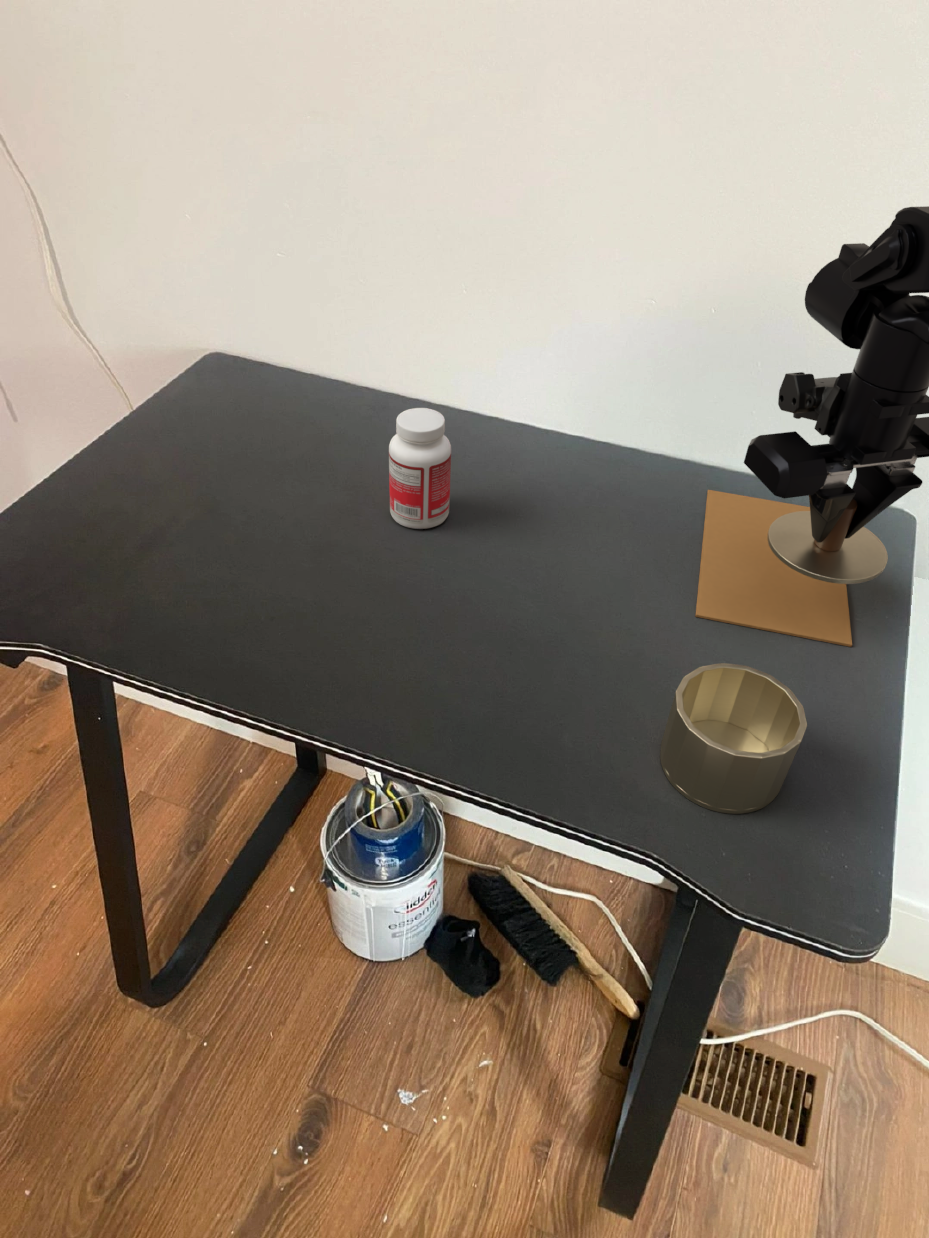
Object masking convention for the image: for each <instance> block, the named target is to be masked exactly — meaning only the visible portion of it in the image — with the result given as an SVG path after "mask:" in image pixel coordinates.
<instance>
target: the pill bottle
mask: <svg viewBox="0 0 929 1238" xmlns="http://www.w3.org/2000/svg"><path fill="white" fill-rule="evenodd" d="M395 421H396V422H395V423H396V425H395V426H396V427H395V431H396V433H395V434H394V435H393V436H392V438H391V439H390V441H389V444H388V472H389V473H388V475H389V476H388V477H389V478H388V479H389V481H388V482H389V512H390V515H391V517H392V519H393V520H394V521H395V522H396V523H397V524H399V525H401V526H403V527H405V528H408V529H415V530H423V529H425V530H426V529H431V528H434V527H437V526H440V525H441V524H443V523H444V522H445V521H446V519H447V518H448V516H449V514H450V506H451V505H450V502H451V501H450V500H451V472H452V471H451V468H452V467H451V466H452V445H451V442H450V440H449V438H448V437H447V436H446V434H445V431H446V420H445V416H444V415H443V414H442V413H441V412H440V411H438V410H435V409H433V408H432V409H431V408H427V407H414V408H409V409H405V410H404V411H402V412H400V413H399V414H398V415H397V417H396V419H395Z"/></svg>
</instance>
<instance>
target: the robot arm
mask: <svg viewBox="0 0 929 1238" xmlns="http://www.w3.org/2000/svg"><path fill="white" fill-rule="evenodd" d="M912 294H914V295H912ZM923 294H929V206H927V205H926V206H906V207H904V208H903V207H902V209H900V210H898V211H897V213H896V214H895V216H894V219H893V220H892V222H890V225H889V226H888V227H887V228H885V230H884V231H883V232H882V233H881V234H880V235H879V236H878V237H877V238H876V239H875V240H874V241H873V242H872V243H871V244H870V245H868V244H866V243H863V242H861V243H860V242H859V243H858V242H857V243H843V244H842V245H841V247H840V251H839V254H838V257H836V258H835V259H833V260H831V261H829V262H828V263H826V265H824V266H823V267H821V268H820V269H819V270H818V272H817V273H816V274H815V275H814V277H813V278H812V280H811V281H810V282H809V283H808V284H807V286H806V290H805V294H804V306H805V309H806V312H807V314H808V315H809V316H810V317H811V318H812V319H813V320H814V321H815V322H817V323H818V324H819V325H820V326H821V327H823V328H824V329H825V330H826V331H827V332H828V333H830V334H831V335H832V336H833V337H834V338H836V339H837V340H838V341H839V342H841V344H843V345H844V346H846V347H847V348H850V349H853V350H859V352H858V355H857V358H856V361H855V362H854V363H855V364H854V366H853V369H852V371H851V372H844V373H840V374H839V375H838V376H830V377H820V378H819V377H818V378H815V376H814V374H813V373H805V372H803V371H800V372H799V371H798V372H790V373H785V374H784V377H783V380H782V382H781V385H780V386H779V387H780V388H779V389H778V401H777V402H778V403H777V405H778V407H779V409H780V410H781V411H783V412H786V413H791V414H792V417H793V418H794V419H797V420H800V419H801V418H802V419H806V420H811V421H814V422H816V423H815V425H814V430H815V431H816V432H818V434H819V435H820V436H827V437H828V438H829V439H828V443H821V444H813V445H811V444H810V442H808V441H807V440H806V439H805V438H804V437H803V436H802V435H801V434H799V433H798V432H797V431H796V430H795V431H786V432H778V433H777V432H776V433H770V434H769V433H767V434H759V435H757V436H756V437H753V438H752V439H751V440H750V442H749V444H748V445H747V450H746V453H745V456H744V460H743V464H744V465H745V466H746V467H747V468H748V469H749V470H750V471H751V472H752V474H754V475H755V477H756V478H758V480H759V481H760V482H761V483H762V484H763V485H764V486H765V488H766V489H768V491H770V492H771V494H772V495H774V496H775V497H778V498H781V499H784V500H785V499H793V498H799V497H800V498H801V497H807V496H808V500H809V507H810V515H811V528H812V536H813V538H814V539H815V540H816V541H817V542H818V543H819V542H823V540H824V539H825V538H826V537H827V536H828V534H829V533H830V532H831V530H832V529H833V527H834V526H835V524H836V523H837V521H838V520H839V518H840V517H841V515H842V514H843V512H844V511H845V509H846V508H847V506H848V505H849V503H850V502H851V500H852V499H854V500H855V501H856V502H857V509H856V511H855V514H854V516H853V519H852V521H851V524H850V526H849V529H848V532H847V534H846V537H845V539H847V538H850V537H851V536H852V535H854V534H855V533H856V532H857V531H859V530H860V529H861V528H862V527H865V526H866V525H867V524H869V523H870V522H871V521H872V520H873V519H874V518H876V517H877V516H878V515H880V514H881V513H882V512H884V510H886V509H888V508H889V507H890V506H891V505H893V504H894V503H896V502H897V501H898V500H900V499H901V498H902V497H904V496H905V495H907V494H908V493H910V492H911V491H912V490H915V489H919V488H921V486H922V484H923V482H924V481H923V480H922V479H921V477H919V476H918V475H916V473H915V472H914V471H915V469H916V465H915V464H916V462H917V460H918V459H920V458H929V416H922V417H918V416H919V415H920V416H921V415H927V414H929V395H928V394H927V393H928V390H929V296H928V295H923ZM854 469H855V479H854V481H853V485H852V487H851V486H850V485H849V484H848V480H849V478H850V475H851V473H853V471H854Z"/></svg>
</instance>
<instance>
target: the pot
mask: <svg viewBox="0 0 929 1238" xmlns="http://www.w3.org/2000/svg"><path fill="white" fill-rule="evenodd" d="M806 718H807V717H806V713H805V709H804V706H803V704H802V702H801V701H800V700H799V699H798V698H797V696H796V695H795V694H794V692H793V690H791V688H790V687H788V686H787V685H785V684H784V683H783V682H781V681H780V680H778V679H777V678H775V677H774V676H773V675H771V674H770V673H767V672H765V671H761V670H759V669H756V668H753V667H750V666H748V665H743V664H736V663H735V664H734V663H726V662H719V663H713V664H709V665H703V666H699V667H697V668H695V669H694V670H692V671H691V672H689V673H688V674H686V675H685V676H683V677H682V679H681V681H680V683H679V685H678V686H677V688H676V690H675V693H674V697H673V700H672V703H671V707H670V710H669V714H668V718H667V721H666V724H665V728H664V732H663V734H662V739H661V742H660V749H659V750H660V752H659V759H660V765H661V768H662V772H663V773H664V775H665V777H666V778H667V781H668V782H669V783H670V784H671V786H672V787H673V788H674V789H675V790H676V791H677V792H678V793H679V794H681V796H683V797H684V798H686V799H687V800H689V801H690V802H692V803H693V804H695V805H698V806H699V807H702V808H703V809H707V810H710V811H713V812H717V813H721V814H730V815H740V814H741V815H742V814H749V813H752V812H756V811H759V810H761V809H764V808H765V807H767V806H769V805H770V804H771V803H772V802H773V801H774V800H775V799H776V797H777V796H778V795H779V794H780V792H781V789H782V787H783V785H784V782H785V780H786V778H787V776H788V773H789V771H790V769H791V766H792V764H793V761H794V759H795V758H796V754H797V752H798V750H799V748H800V746H801V743H802V741H803V738H804V736H805V733H806V730H807V727H808V722H807V719H806Z"/></svg>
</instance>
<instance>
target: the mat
mask: <svg viewBox="0 0 929 1238" xmlns="http://www.w3.org/2000/svg"><path fill="white" fill-rule="evenodd" d="M799 511H810V506H806V505H800V504H794V503H788V502H782V501H777V500H772V499H765V498H760V497H753V496H747V495H742V494H736V493H730V492H725V491H718V490H714V489H707V494H706V504H705V512H704V513H705V514H704V524H703V533H702V545H701V553H700V554H701V555H700V564H699V565H700V566H699V576H698V586H697V596H696V606H695V615H694V617H695V618H700V619H705V620H710V621H714V622H720V623H726V624H731V625H735V626H740V627H746V628H751V629H757V630H761V631H766V632H771V633H776V634H782V635H787V636H792V637H797V638H802V639H806V640H807V639H808V640H812V641H818V642H823V643H829V644H833V645H837V646H842V647H843V646H844V647H849V648H852V646H853V638H852V629H851V620H850V619H851V618H850V609H849V599H848V589H847V584H837V583H830V582H825V581H820V580H817V579H814V578H811V577H808V576H805V575H803V574H801V573H799V572H797V571H795V570H793V569H791V568H790V567H788V566H787V565H785V564H784V563H783V562H782V561H780V560H779V559H778V558H777V557H776V556H775V554H774V553H773V552H772V550H771V548H770V547H769V544H768V539H767V535H768V531H769V528H770V526H771V524H772V523H773V522H774V521H775V520H776V519H777V518H779V517H781V516H783V515H785V514H789V513H793V512H799Z"/></svg>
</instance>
